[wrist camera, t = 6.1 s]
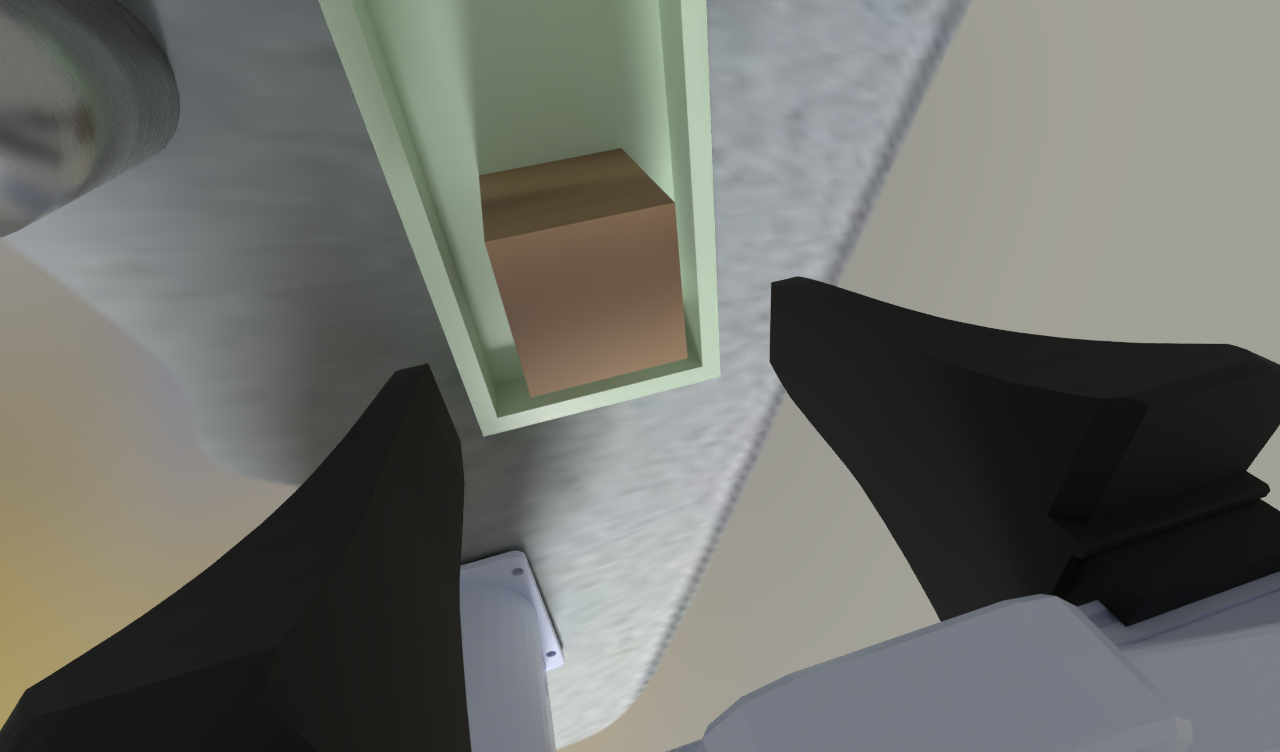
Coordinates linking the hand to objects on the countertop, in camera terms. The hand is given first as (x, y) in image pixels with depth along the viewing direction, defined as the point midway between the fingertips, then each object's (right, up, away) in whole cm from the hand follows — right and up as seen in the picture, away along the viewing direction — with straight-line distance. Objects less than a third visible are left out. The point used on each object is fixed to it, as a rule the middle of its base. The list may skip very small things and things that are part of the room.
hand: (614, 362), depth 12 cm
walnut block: (-2, +4, +5) cm, 7 cm away
